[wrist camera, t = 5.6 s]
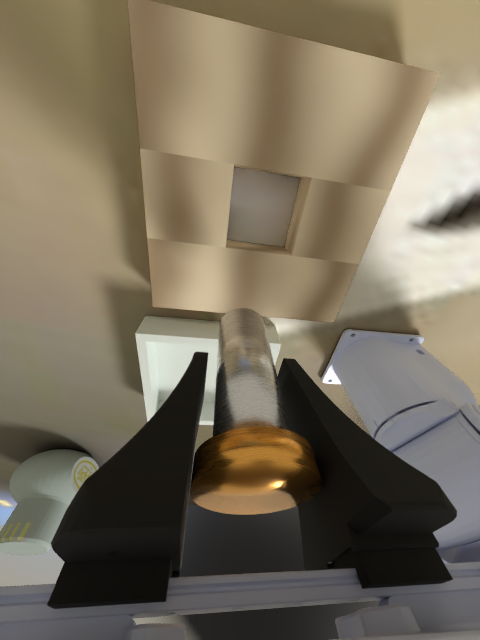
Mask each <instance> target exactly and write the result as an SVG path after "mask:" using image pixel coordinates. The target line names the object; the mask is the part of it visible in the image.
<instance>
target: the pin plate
mask: <svg viewBox="0 0 480 640" xmlns="http://www.w3.org/2000/svg"><path fill="white" fill-rule="evenodd" d="M128 11H129V23H130V36H131V48H132V60H133V72H134V84H135V96H136V108H137V121H138V133H139V145H140V157H141V169H142V181H143V194H144V206H145V218H146V230H147V242H148V254H149V266H150V279H151V291H152V303H153V307H161V308H172V309H184V310H195V311H207V312H218V313H228V312H229V311H231V310H234V309H238V308H248V309H252V310H254V311H256V312H257V313H259V314H260V315H261V316H264V317H276V318H287V319H299V320H310V321H322V322H334V321H335V319H336V317H337V314H338V312H339V310H340V307H341V305H342V303H343V300H344V298H345V296H346V293H347V291H348V289H349V286H350V284H351V282H352V279H353V277H354V275H355V272H356V270H357V268H358V265H359V263H360V261H361V258H362V256H363V254H364V251H365V249H366V247H367V244H368V242H369V240H370V237H371V235H372V233H373V231H374V228H375V226H376V224H377V221H378V219H379V217H380V214H381V212H382V210H383V207H384V205H385V203H386V200H387V198H388V196H389V193H390V191H391V189H392V186H393V184H394V182H395V179H396V177H397V175H398V172H399V170H400V168H401V165H402V163H403V161H404V158H405V156H406V154H407V151H408V149H409V147H410V144H411V142H412V140H413V137H414V135H415V133H416V130H417V128H418V126H419V123H420V121H421V119H422V116H423V114H424V112H425V109H426V107H427V105H428V102H429V100H430V98H431V95H432V93H433V91H434V89H435V86H436V84H437V82H438V79H439V77H440V75H441V73H437V72H433V71H429V70H425V69H421V68H417V67H413V66H409V65H405V64H401V63H397V62H393V61H389V60H386V59H382V58H378V57H374V56H370V55H366V54H362V53H358V52H354V51H350V50H346V49H342V48H338V47H334V46H330V45H326V44H322V43H318V42H314V41H310V40H306V39H302V38H298V37H294V36H290V35H286V34H282V33H278V32H274V31H270V30H266V29H262V28H258V27H254V26H250V25H246V24H242V23H238V22H234V21H230V20H226V19H222V18H218V17H214V16H210V15H206V14H202V13H198V12H194V11H190V10H186V9H182V8H178V7H174V6H170V5H166V4H162V3H158V2H154V1H150V0H128ZM234 167H238V168H244V169H250V170H256V171H262V172H268V173H274V174H280V175H286V176H292V177H298V178H301V179H300V183H299V187H298V192H297V196H296V200H295V204H294V208H293V213H292V217H291V221H290V225H289V229H288V234H287V238H286V242H285V246H284V247H278V246H270V245H262V244H255V243H247V242H239V241H231V240H227V231H228V221H229V211H230V201H231V191H232V181H233V171H234Z"/></svg>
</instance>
